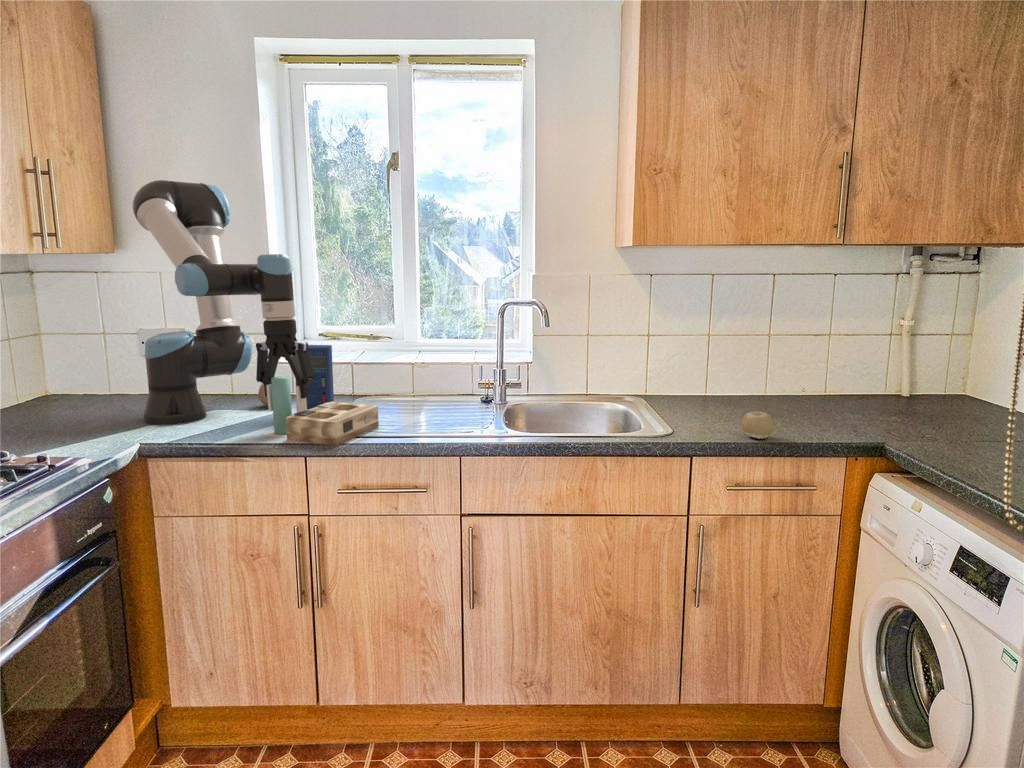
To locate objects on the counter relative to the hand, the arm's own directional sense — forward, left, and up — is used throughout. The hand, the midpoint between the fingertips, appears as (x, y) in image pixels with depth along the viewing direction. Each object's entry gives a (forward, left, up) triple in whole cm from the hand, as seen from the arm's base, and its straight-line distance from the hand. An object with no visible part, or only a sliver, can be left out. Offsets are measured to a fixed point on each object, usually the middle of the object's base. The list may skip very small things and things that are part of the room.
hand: (287, 410), depth 161 cm
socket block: (+10, +5, -6) cm, 13 cm away
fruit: (+111, +42, -7) cm, 119 cm away
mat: (-2, 0, -6) cm, 7 cm away
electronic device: (-6, +19, -7) cm, 21 cm away
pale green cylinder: (-2, 0, -6) cm, 6 cm away
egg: (-25, +24, -7) cm, 35 cm away
